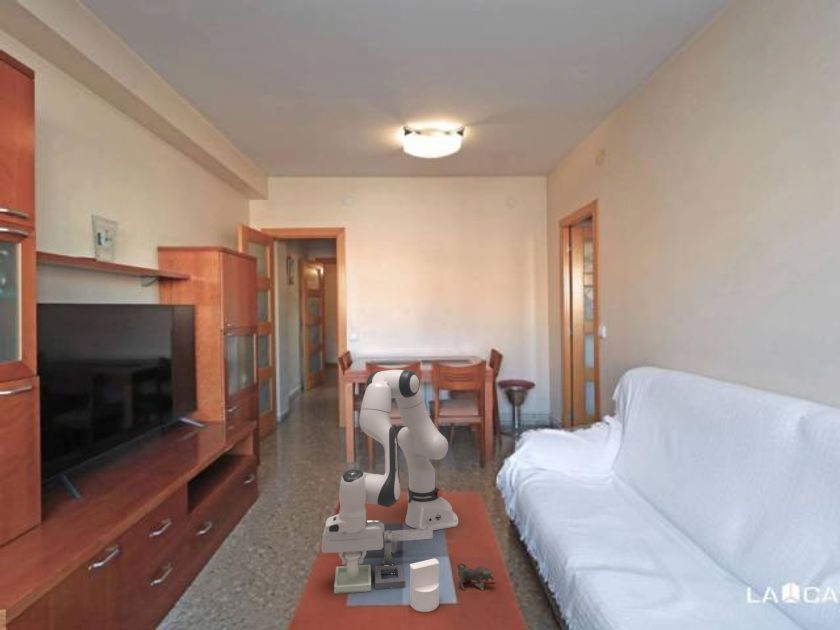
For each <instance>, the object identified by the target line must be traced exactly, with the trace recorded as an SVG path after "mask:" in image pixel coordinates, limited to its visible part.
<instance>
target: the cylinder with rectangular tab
mask: <svg viewBox="0 0 840 630" xmlns="http://www.w3.org/2000/svg"><path fill="white" fill-rule="evenodd" d="M409 604H410V606H411V609H413V610H415V611H417V612H422V613H429V612H432V611H434V610H436V609H437V608H438V607H439V606H440V562H439V559H437V558H435V557H434V558H431V559H430V558H429V559H426V560H422V561H418V562H414V563H410V564H409Z"/></svg>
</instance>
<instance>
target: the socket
mask: <svg viewBox="0 0 840 630" xmlns="http://www.w3.org/2000/svg"><path fill="white" fill-rule="evenodd" d="M383 555H384V558H382V565H377V566H376V565H375V566H374V587H375V589H374V590H381V589H380V588H388V589H399V588H406V578H405V572H404V564H394V558H393V557H392V553H391V542H389V543H386V542H384V554H383ZM392 564H393V565H392ZM383 565H389V566H383ZM391 573H393V574H392V575H398V576H397V577H394V578H393V577H392V578H382V575H381V574H391ZM394 573H395V574H394ZM391 587H392V588H391ZM393 587H394V588H393Z"/></svg>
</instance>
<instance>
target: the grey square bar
mask: <svg viewBox="0 0 840 630" xmlns="http://www.w3.org/2000/svg"><path fill="white" fill-rule="evenodd" d="M433 536H434V530H433V529H432V528H426V529H416V528H412V529H401V530H400V529H398V530H397V529H396V530H391V529H389V530H384V532H383V543H385V542H386V543H389V542H391V541H400V542H402V541H403V542H404V541H417V540H418V541H419V540H429V539H430V540H431V539H433V538H434V537H433Z"/></svg>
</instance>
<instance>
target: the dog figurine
mask: <svg viewBox="0 0 840 630" xmlns="http://www.w3.org/2000/svg"><path fill="white" fill-rule="evenodd" d="M492 574H493V571H492V570H491V569H489V568H487V567H481V566H479V567H475V568H468V567H467V566H466V564H465V563H462V562H461V563H458V564H457V577H458V581H457V583H458V584H459V586H460V587H461V589H462V591H463V592H466V590H467V589H466V587H465V586H464V584H463V582H468V583H471V582H472V581H476V582H473V585H474V586H475V587H476V588H478V589H480V590H481V591H485V588H484V587H485V583H484V581H485V582H489V580H492V581H493V580H495V577H494V576H493V575H492Z"/></svg>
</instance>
